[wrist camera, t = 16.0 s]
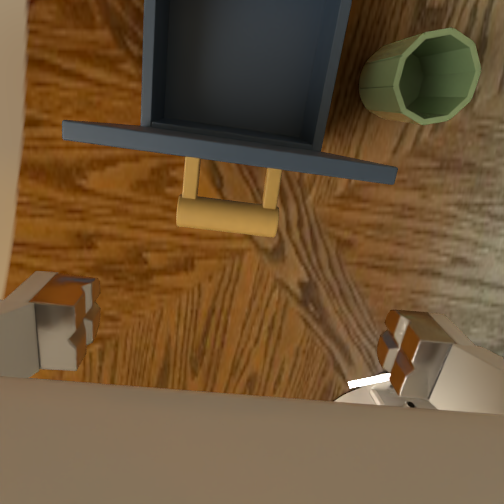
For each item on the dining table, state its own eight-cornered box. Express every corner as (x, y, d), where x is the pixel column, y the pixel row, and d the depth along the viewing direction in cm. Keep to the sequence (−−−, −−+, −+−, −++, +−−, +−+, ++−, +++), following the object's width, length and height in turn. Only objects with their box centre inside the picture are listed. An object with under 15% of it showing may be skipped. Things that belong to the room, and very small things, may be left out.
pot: (433, 49, 34) (494, 35, 26) (411, 123, 37) (461, 131, 29) (368, 37, 34) (410, 19, 26) (350, 113, 36) (383, 118, 28)
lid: (61, 119, 15) (62, 223, 17) (398, 167, 17) (376, 259, 18) (139, 125, 29) (136, 182, 30) (322, 151, 30) (312, 205, 32)
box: (163, -49, 31) (146, -87, 24) (335, -16, 32) (361, -44, 26) (156, 124, 36) (140, 130, 29) (304, 145, 37) (319, 156, 31)
